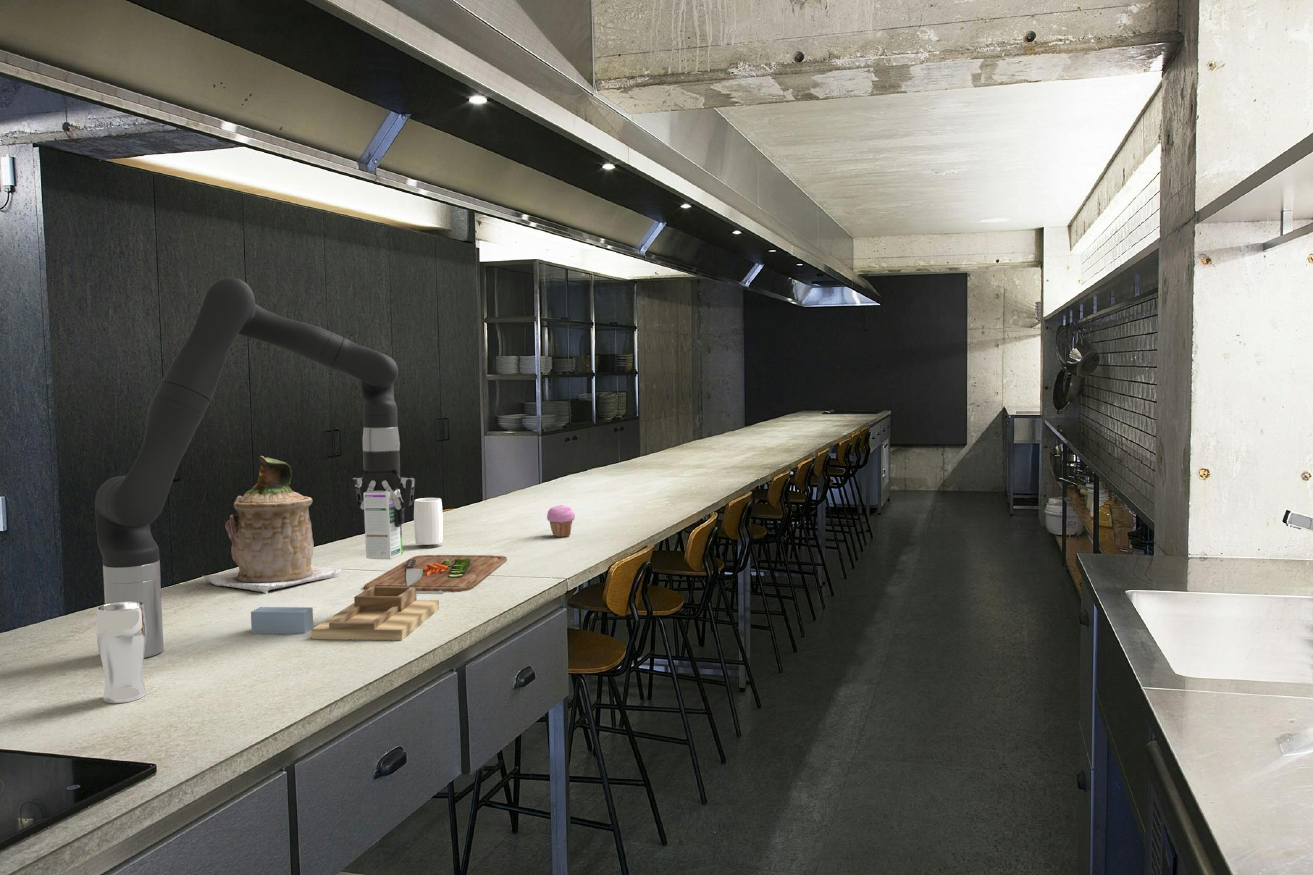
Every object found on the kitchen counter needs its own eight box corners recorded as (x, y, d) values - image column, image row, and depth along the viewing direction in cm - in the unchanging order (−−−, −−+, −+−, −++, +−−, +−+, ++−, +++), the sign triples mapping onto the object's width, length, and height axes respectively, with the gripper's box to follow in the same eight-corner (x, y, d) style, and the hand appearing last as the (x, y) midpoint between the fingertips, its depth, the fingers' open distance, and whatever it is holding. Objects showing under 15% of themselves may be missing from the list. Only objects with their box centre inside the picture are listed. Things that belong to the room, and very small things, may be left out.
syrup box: (390, 559, 200) (388, 491, 199) (364, 559, 201) (362, 491, 200) (403, 554, 205) (401, 488, 204) (378, 553, 206) (376, 487, 205)
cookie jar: (345, 575, 244) (341, 452, 242) (264, 595, 223) (258, 460, 221) (281, 566, 257) (277, 449, 254) (198, 584, 235) (193, 456, 233)
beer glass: (157, 689, 156) (153, 600, 155) (135, 704, 149) (131, 610, 148) (114, 690, 156) (110, 600, 155) (90, 705, 149) (85, 611, 148)
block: (313, 629, 194) (312, 607, 193) (304, 634, 190) (304, 612, 189) (261, 628, 194) (260, 606, 194) (251, 633, 190) (250, 611, 190)
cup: (449, 545, 286) (448, 498, 285) (429, 549, 279) (427, 502, 278) (429, 542, 290) (428, 496, 289) (408, 547, 283) (407, 500, 282)
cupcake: (579, 537, 298) (579, 505, 297) (554, 539, 294) (553, 507, 293) (567, 533, 306) (567, 502, 305) (542, 535, 301) (542, 504, 301)
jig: (401, 640, 184) (401, 614, 184) (312, 639, 185) (311, 613, 185) (439, 609, 208) (438, 586, 208) (359, 608, 209) (358, 586, 209)
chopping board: (465, 596, 222) (465, 583, 222) (355, 595, 224) (355, 582, 224) (511, 558, 267) (511, 548, 267) (419, 557, 269) (418, 547, 269)
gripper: (341, 449, 198) (343, 529, 199) (408, 449, 197) (410, 529, 198) (355, 447, 206) (357, 523, 207) (419, 447, 204) (421, 523, 206)
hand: (383, 526), depth 202 cm, fingers closed on syrup box, 6 cm apart
